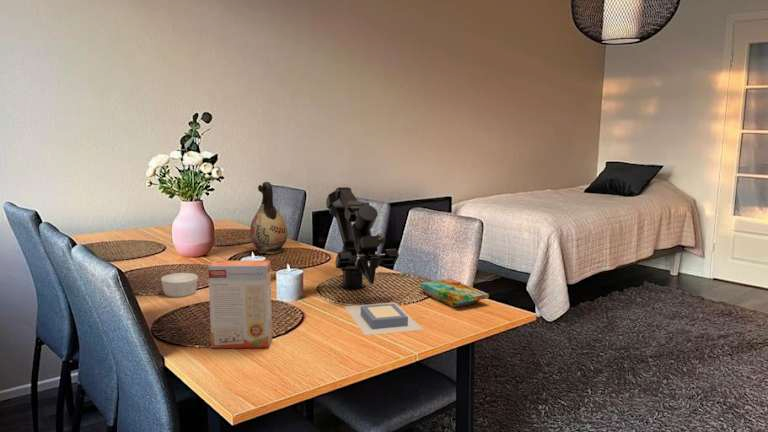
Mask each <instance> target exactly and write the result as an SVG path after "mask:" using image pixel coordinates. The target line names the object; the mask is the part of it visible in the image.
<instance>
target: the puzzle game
mask: <svg viewBox="0 0 768 432" xmlns="http://www.w3.org/2000/svg"><path fill="white" fill-rule="evenodd" d="M419 288H420V290H421V291H422V293H424V294H425V295H426V296H429V297H430V298H432V299H435V300H437V301H439V302H442V303H444V304H445V305H448V306H450V307H452V308H454V307H460V306H464V305H465V306H466V305H471V304H475V303H478V302H480V300H487V299H489V298H490V295H489V293H487V292H485V291H482V290H479V289H478V288H475V287H472V286H470V285H467V284H465V283H462V282H461V281H458V280H455V279H452V278H445V279H438V280H431V281H430V280H429V281H424V282H420V283H419Z"/></svg>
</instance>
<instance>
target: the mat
mask: <svg viewBox="0 0 768 432" xmlns="http://www.w3.org/2000/svg"><path fill="white" fill-rule="evenodd" d="M385 304H395V305H396V306H397V307H398V308H399V309H400V310H401V311H402V312H403V313H404V314H405V315H406V316H407V317H408V326H400V327H389V328H379V329H372V328H371V327H370V326H369V324H368V323H367V322H366V321H365V319H364V318H363V317H362V316H361V306H373V305H385ZM343 308H344V309H345V310H346V311H347V313H348V314H349V315H350V317H351V319H352V320H353V321H354V322H355V324H356V325H357V327H359V329H360V331H361V332H362V333H363V334H364V335H365V336H371V335H380V334H381V335H382V334H389V333H390V334H391V333H401V332H403V333H404V332H411V331H413V332H414V331H421V330H424V328H422V327H421V326H420V325H419V324H418V323H417V322H416V321H415V320H414V319H413V317H411V316H410V315H409V314H408V313H407V312H406V311H405V310H403V308H402V307H401V306H399V304H397V302H396V301H392V302H391V301H390V302H379V303H369V304H368V303H367V304H357V305H356V304H354V305H345V306H343Z"/></svg>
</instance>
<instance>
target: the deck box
mask: <svg viewBox="0 0 768 432" xmlns="http://www.w3.org/2000/svg"><path fill="white" fill-rule="evenodd" d="M361 316H362V317H363V318H364V319H365V321H366V322H367V323H368V324H369V326H370V327H371V328H372V329H379V328H389V327H400V326H408V317H407V316H406V315H405V314H404V313H403V312H402V311H401V310H400V309H399V308H398V307H397V306H396V305H395V304H385V305H373V306H361Z"/></svg>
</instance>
